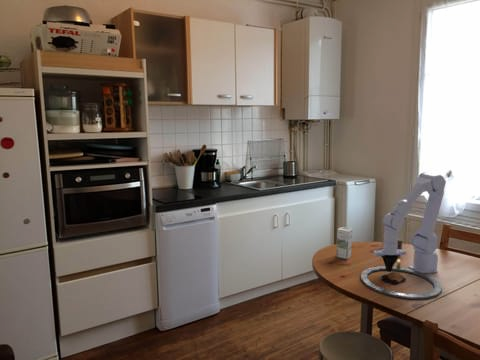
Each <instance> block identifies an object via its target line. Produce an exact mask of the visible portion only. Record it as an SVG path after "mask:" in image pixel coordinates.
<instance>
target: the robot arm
mask: <svg viewBox="0 0 480 360" xmlns="http://www.w3.org/2000/svg"><path fill="white" fill-rule="evenodd" d="M446 183H447V180H446V179H445V177H444V176H443V175H441V174H433V173H429V172H425V171H423V172H421V173H420V174H419V175H418V177H416V179H415V184H414V185H413V187H412V188H411V189H410V191H409V193H408V194H407V196H406V197H405V198H404V199H401V200H398V201H397V203H396V205H395V206H394V207H393V208H392V210H391V211H390V212H389V213H386V214H385V215H384V216H383V218H382V219H381V222H382V225H383V229H384V233H383V234H384V244H383V243H382V244H383V245H382V249H378V250H373V254H372V255H373V256H374V257H376V258H377V257H381V258H382V260H383V263H384V266H385V268H386V270H385V271H386V272H387V273H391V272H392V271H393V270H392V268H393V267H394V266H395V263H397V260H398V259H399V258H398V257H399V256H396V255H401V256H407V250H406V249H403V248H402V250H400V249H397V246H398V237H399V234H400V233H399V232H400V228H401V227H402V226H403V223H404V220H405V217H406V216H408V214H409V212H410V211H411V210H412V208H413V207H412V205H413V203H415V202H416V200H418V198H419V197H420V196H421V195H422V194H423V193H425V192H427V194H428V199H427V202H426V207H425V209H424V214H423V217H422V221H421V225H420V228H419V229H417V230H415V232H414V235H413V236H412V238H411V241H410V243H411V245H412V247H413V250H414V252H413V265H408V268H409V269H411V270H415V271H419V272H422V273H424V274H431V273H438V272H439V271H438V261H439V260H438V259H439V257H438V254H437V252H436V250H437V249H438V237H437V235H436V233H435V229H436V228H435V227H436V225H437V221H438V217H439V212H440V211H441V210H440V209H441V206H442V203H443V198H444V195H445V187H446Z"/></svg>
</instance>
